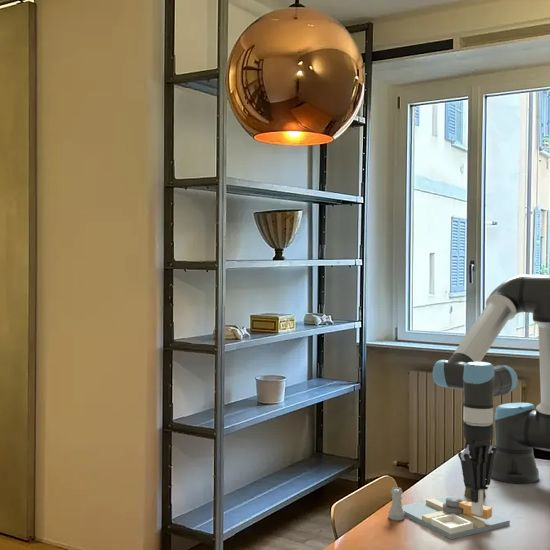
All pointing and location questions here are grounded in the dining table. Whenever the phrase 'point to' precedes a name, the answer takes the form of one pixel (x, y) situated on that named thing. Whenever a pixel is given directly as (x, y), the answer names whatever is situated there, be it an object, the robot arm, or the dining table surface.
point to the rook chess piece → (396, 505)
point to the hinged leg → (468, 507)
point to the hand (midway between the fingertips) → (477, 514)
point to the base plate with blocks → (438, 508)
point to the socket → (452, 523)
